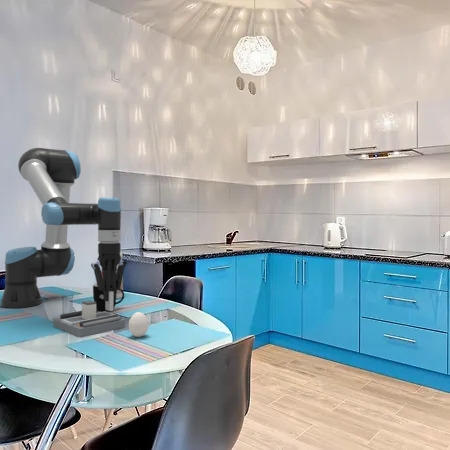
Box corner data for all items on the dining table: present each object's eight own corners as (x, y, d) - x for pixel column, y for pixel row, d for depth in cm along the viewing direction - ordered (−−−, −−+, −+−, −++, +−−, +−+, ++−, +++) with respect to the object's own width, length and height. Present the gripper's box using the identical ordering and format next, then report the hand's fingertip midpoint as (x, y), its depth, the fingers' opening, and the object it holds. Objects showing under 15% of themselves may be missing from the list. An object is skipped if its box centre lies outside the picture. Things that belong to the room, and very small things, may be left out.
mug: (95, 313, 160) (95, 287, 160) (91, 309, 168) (91, 283, 168) (126, 310, 165) (126, 284, 165) (121, 306, 173) (121, 281, 173)
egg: (131, 333, 134) (131, 309, 134) (150, 334, 134) (150, 310, 134) (126, 339, 128) (126, 314, 128) (146, 339, 128) (146, 314, 128)
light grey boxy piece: (81, 318, 142) (81, 301, 142) (90, 316, 144) (90, 300, 144) (87, 320, 139) (87, 303, 139) (96, 318, 142) (96, 302, 141)
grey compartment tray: (53, 326, 142) (53, 316, 142) (96, 317, 154) (96, 308, 154) (79, 337, 130) (79, 326, 130) (125, 327, 142) (125, 317, 142)
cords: (83, 327, 131) (83, 322, 131) (60, 318, 142) (60, 314, 142) (120, 320, 141) (120, 315, 141) (96, 312, 152) (96, 307, 152)
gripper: (98, 243, 139) (98, 315, 140) (131, 242, 149) (131, 308, 150) (86, 242, 145) (86, 311, 145) (119, 240, 154) (119, 305, 155)
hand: (109, 309), depth 147 cm, fingers closed
